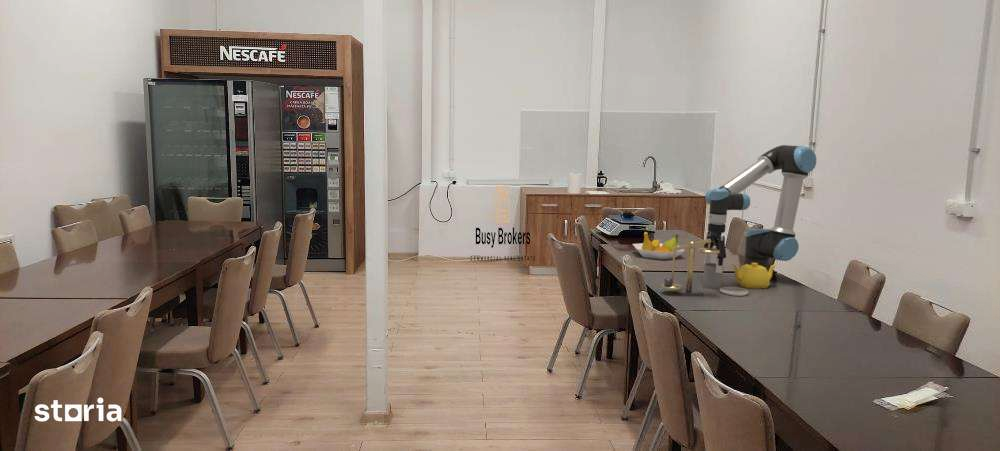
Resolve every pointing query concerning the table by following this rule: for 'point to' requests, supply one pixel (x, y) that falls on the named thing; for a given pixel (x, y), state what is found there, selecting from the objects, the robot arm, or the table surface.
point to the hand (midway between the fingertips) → (712, 269)
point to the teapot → (753, 276)
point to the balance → (688, 269)
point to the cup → (712, 276)
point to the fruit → (658, 248)
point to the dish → (733, 291)
